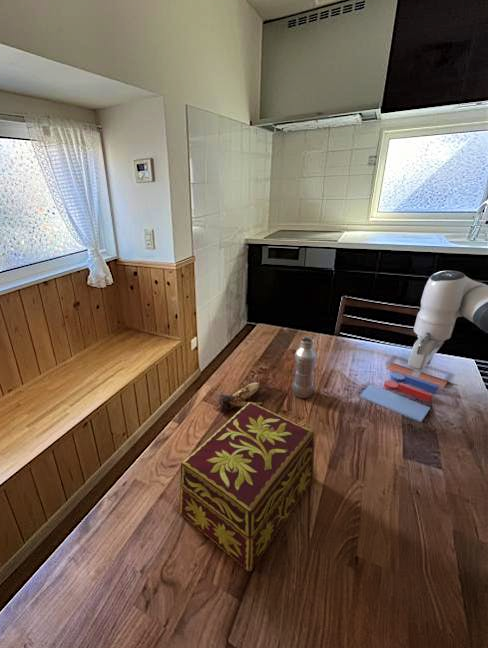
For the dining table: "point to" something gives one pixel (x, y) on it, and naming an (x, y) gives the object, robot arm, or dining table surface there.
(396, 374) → the blue spoon
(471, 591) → the dining table surface
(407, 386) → the red spoon
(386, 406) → the blue mat
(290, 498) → the decorative box
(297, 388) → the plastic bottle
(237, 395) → the worn brush
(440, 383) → the terracotta mat
